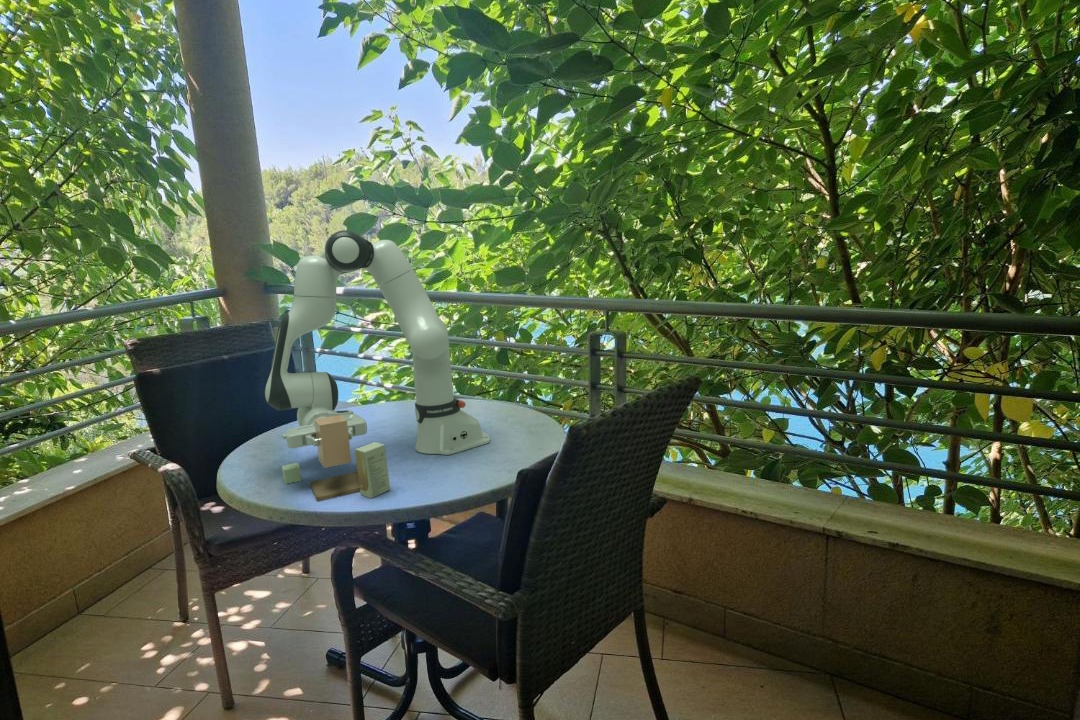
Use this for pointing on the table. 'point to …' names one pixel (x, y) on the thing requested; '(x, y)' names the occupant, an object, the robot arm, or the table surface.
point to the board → (335, 486)
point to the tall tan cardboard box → (333, 440)
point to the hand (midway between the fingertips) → (333, 439)
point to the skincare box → (372, 469)
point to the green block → (291, 473)
